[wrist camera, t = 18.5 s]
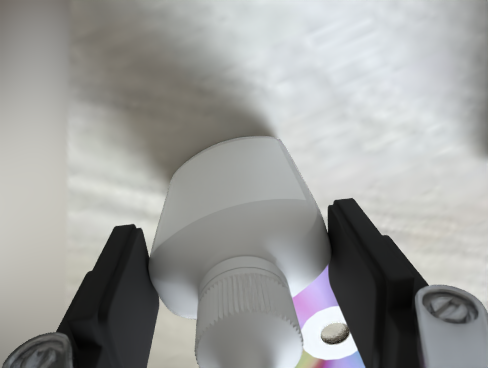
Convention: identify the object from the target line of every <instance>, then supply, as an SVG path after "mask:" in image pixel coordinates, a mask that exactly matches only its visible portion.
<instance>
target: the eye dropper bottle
mask: <svg viewBox="0 0 488 368" xmlns="http://www.w3.org/2000/svg"><path fill="white" fill-rule="evenodd" d="M331 253H332V248H331V243H330V239H329V236H328V232H327V229H326V226H325V223H324V220H323V217H322V215H321V212H320V209H319V207H318V205H317V203H316V201H315V200H314V198H313V196H312V194H311V192H310V190H309V188H308V186H307V184H306V183H305V181H304V179H303V177H302V175H301V173H300V172H299V170H298V168H297V166H296V164H295V163H294V161H293V159H292V157H291V155H290V154H289V152H288V150H287V148H286V147H285V145H284V144H283V142H282V141H281V140H280V139H277V138H275V137H270V136H248V137H240V138H235V139H230V140H227V141H223V142H220V143H218V144H215V145H213V146H211V147H209V148H207V149H205V150H203V151H201V152H199V153H198V154H196V155H195V156H193V157H192V158H191V159H189V160H188V161H187V162H185V163H184V164H183V165H182V166H181V167H180V168H179V169H178V170H177V171H176V172H175V173H174V175H173V177H172V179H171V182H170V185H169V189H168V192H167V195H166V199H165V202H164V206H163V209H162V213H161V216H160V220H159V223H158V227H157V230H156V234H155V238H154V241H153V245H152V249H151V254H150V258H149V265H148V269H149V276H150V279H151V281H152V284H153V286H154V288H155V289H156V291H157V293H158V295H159V297H160V298H161V300H162V301H163V303H164V304H165V306H166V307H167V308H168V309H169V310H170V311H171V312H172V313H174V314H175V315H178V316H181V317H184V318H189V319H195V320H197V324H196V339H195V356H196V360H197V364H198V365H199V366H200V368H295V367H296V365H297V364H298V362H299V360H300V358H301V355H302V354H303V353H302V351H303V346H304V344H303V341H304V340H303V336H302V332H301V328H300V325H299V321H298V317H297V314H296V310H295V306H294V303H293V299H292V298H293V297H294V296H296V295H297V294H298V293H300V292H301V291H302V290H304V289H305V288H306V287H307V286H308V285H310V284H311V283H312V282H313V281H314V280H315V279H316V278H317V277H318V276H319V275H320V274H321V273H322V272H323V271H324V270H325V269H326V267H327V265H328V264H329V262H330V260H331Z"/></svg>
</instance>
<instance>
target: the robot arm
mask: <svg viewBox="0 0 488 368" xmlns="http://www.w3.org/2000/svg"><path fill="white" fill-rule="evenodd" d="M328 236H329V239H330V243H331V248H332V253H331V260H330V262H329V264H328V278H329V283H330V286H331V289H332V291H333V293H334V296H335V298H336V300H337V303H338V305H339V307H340V310H341V312H342V314H343V317H344V319H345V321H346V324H347V326H348V328H349V331H350V333H351V335H352V338H353V340H354V342H355V345H356V347H357V349H358V352H359V354H360V356H361V359H362V361H363V363H364V366H365V368H488V313H487V311H486V309H485V307H484V306H483V304H482V302H480V301H479V300H478V299H477V298H476V297H475V296H473V295H472V294H470V293H468V292H466V291H465V290H462V289H459V288H456V287H453V286H447V285H430V286H429V285H428V284H427V282H426V281H425V280H424V279H423V277H422V276H421V275H420V274H419V272H418V271H417V270H416V269H415V267H414V266H413V265H412V264H411V263H410V261H409V260H408V259H407V258H406V256H405V255H404V254H403V253H402V251H401V250H400V249H399V248H398V246H397V245H396V244H395V243H394V242H393V240H392V239H391V238H390V237H389V236H387V235H381V233H380V232H379V231H378V230H377V228H376V227H375V226H374V224H373V223H372V222H371V221H370V219H369V218H368V217H367V215H366V214H365V213H364V212H363V210H362V209H361V208H360V206H359V205H358V204H357V203H356V201H355V200H354V199H353V198H349V199H341V200H335V201H334V203H333V205H329V206H328ZM148 265H149V255H148V250H147V246H146V242H145V238H144V234H143V230H142V229H141V228H136V226H135V225H134V224H131V225H122V226H115V227H114V229H113V231H112V233H111V235H110V237H109V239H108V241H107V243H106V245H105V247H104V249H103V251H102V253H101V254H100V256H99V258H98V260H97V262H96V264H95V266H94V268H93V270H92V271H89V272H88V273H87V274H86V276H85V277H84V279H83V281H82V283H81V285H80V287H79V289H78V291H77V293H76V295H75V297H74V298H73V300H72V302H71V304H70V306H69V308H68V310H67V312H66V314H65V316H64V318H63V319H62V322H61V323H60V325H59V327H58V329H57V331H56V332H54V333H46V334H42V335H39V336H37V337H34V338H32V339H30V340H28V341H26V342H25V343H23V344H22V345H20V346H19V347H18V348H16V349H15V350H14V351H13V352H12V353H11V354H10V355H9V356H8V358H7V359H6V360H5V362H4V363H3V366H2V368H147V363H148V358H149V354H150V349H151V344H152V339H153V334H154V329H155V324H156V320H157V315H158V310H159V296H158V293H157V291H156V289H155V288H154V286H153V284H152V281H151V279H150V276H149V269H148Z"/></svg>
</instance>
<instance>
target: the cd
mask: <svg viewBox="0 0 488 368" xmlns="http://www.w3.org/2000/svg"><path fill="white" fill-rule="evenodd" d="M292 299H293V303H294V306H295V310H296V314H297V317H298V321H299V325H300V328H301V332H302V336H303V340H304V341H303V344H304V346H303V351H302V353H303V354H302V355H301V358H300V360H299V362H298V364H297V365H296V367H295V368H365V366H364V363H363V361H362V359H361V356H360V354H359V352H358V349H357V347H356V345H355V342H354V340H353V338H352V335H351V333H350V332H349V335H348V337H347V338H346V339H345V340H344V341H342V342H340V343H337V344H328V343H325V342H324V341H323V340H322V339H321V332H322V330H323V328H325V327H326V326H327V325H329V324H332V323H338V322H340V323H344V324H346V321H345V319H344V317H343V314H342V312H341V310H340V307H339V305H338V303H337V300H336V298H335V296H334V293H333V291H332V289H331V286H330V283H329V278H328V265H327V267H326V269H325V270H324V271H323V272H322V273H321V274H320V275H319V276H318V277H317V278H316V279H315V280H314V281H313V282H312V283H311V284H310V285H308V286H307V287H306V288H305V289H304V290H302V291H301V292H300V293H298V294H297V295H296V296H294V297H293V298H292ZM346 325H347V324H346Z"/></svg>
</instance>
